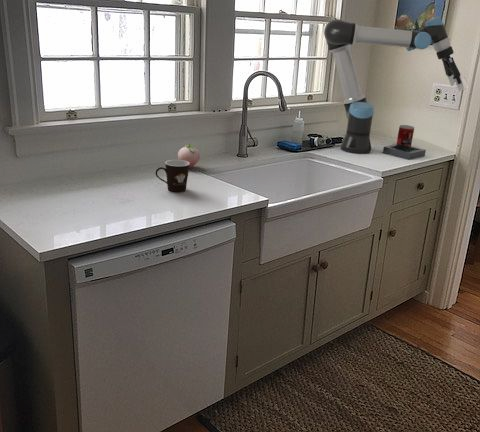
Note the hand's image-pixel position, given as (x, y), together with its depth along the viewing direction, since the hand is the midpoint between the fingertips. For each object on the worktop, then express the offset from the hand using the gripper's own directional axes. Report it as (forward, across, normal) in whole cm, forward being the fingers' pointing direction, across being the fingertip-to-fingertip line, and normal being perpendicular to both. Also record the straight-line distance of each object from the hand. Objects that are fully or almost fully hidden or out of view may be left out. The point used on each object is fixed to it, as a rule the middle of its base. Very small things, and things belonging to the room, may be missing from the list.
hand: (458, 88), depth 262 cm
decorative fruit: (-28, -76, +121) cm, 145 cm away
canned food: (+18, +9, +34) cm, 40 cm away
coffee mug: (-26, -105, +120) cm, 161 cm away
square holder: (+18, -10, +36) cm, 42 cm away
